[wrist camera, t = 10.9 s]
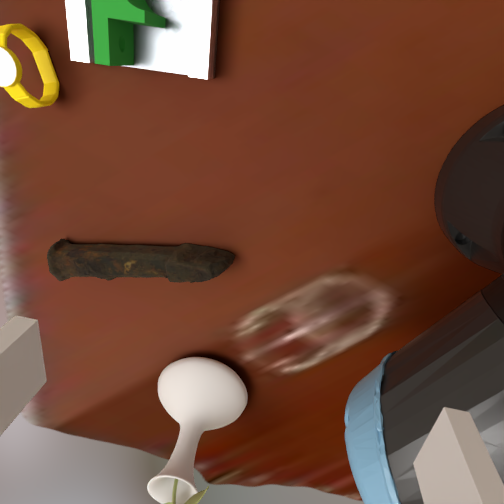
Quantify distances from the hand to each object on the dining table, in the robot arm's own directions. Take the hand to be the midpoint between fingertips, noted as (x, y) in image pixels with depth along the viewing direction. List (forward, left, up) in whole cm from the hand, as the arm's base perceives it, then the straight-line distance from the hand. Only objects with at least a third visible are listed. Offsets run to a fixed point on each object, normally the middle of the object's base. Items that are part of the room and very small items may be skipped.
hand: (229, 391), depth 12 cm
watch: (+21, -7, -26) cm, 34 cm away
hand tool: (+12, +10, -26) cm, 30 cm away
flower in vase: (+4, +27, -26) cm, 38 cm away
